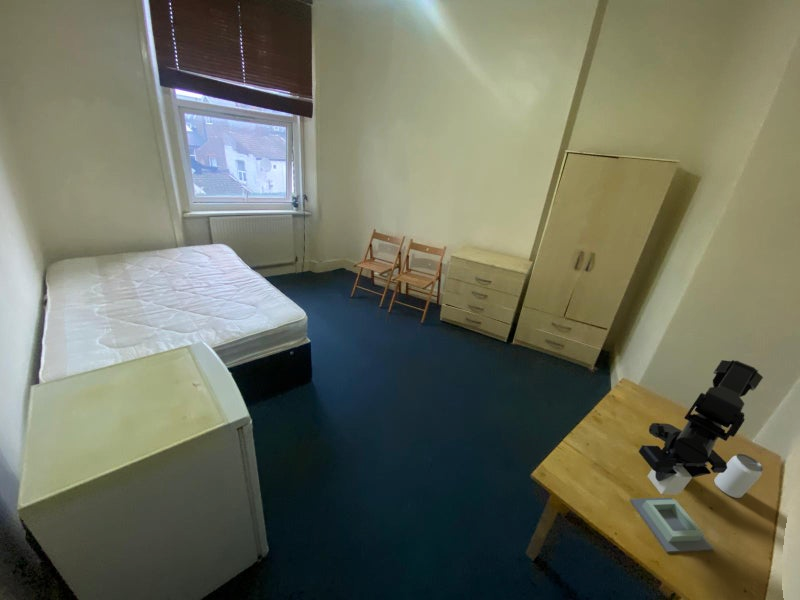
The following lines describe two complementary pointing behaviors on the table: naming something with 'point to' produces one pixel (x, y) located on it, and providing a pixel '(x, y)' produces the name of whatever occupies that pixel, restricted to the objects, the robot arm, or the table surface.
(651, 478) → the plug
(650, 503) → the charging dock
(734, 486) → the can
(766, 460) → the table surface
